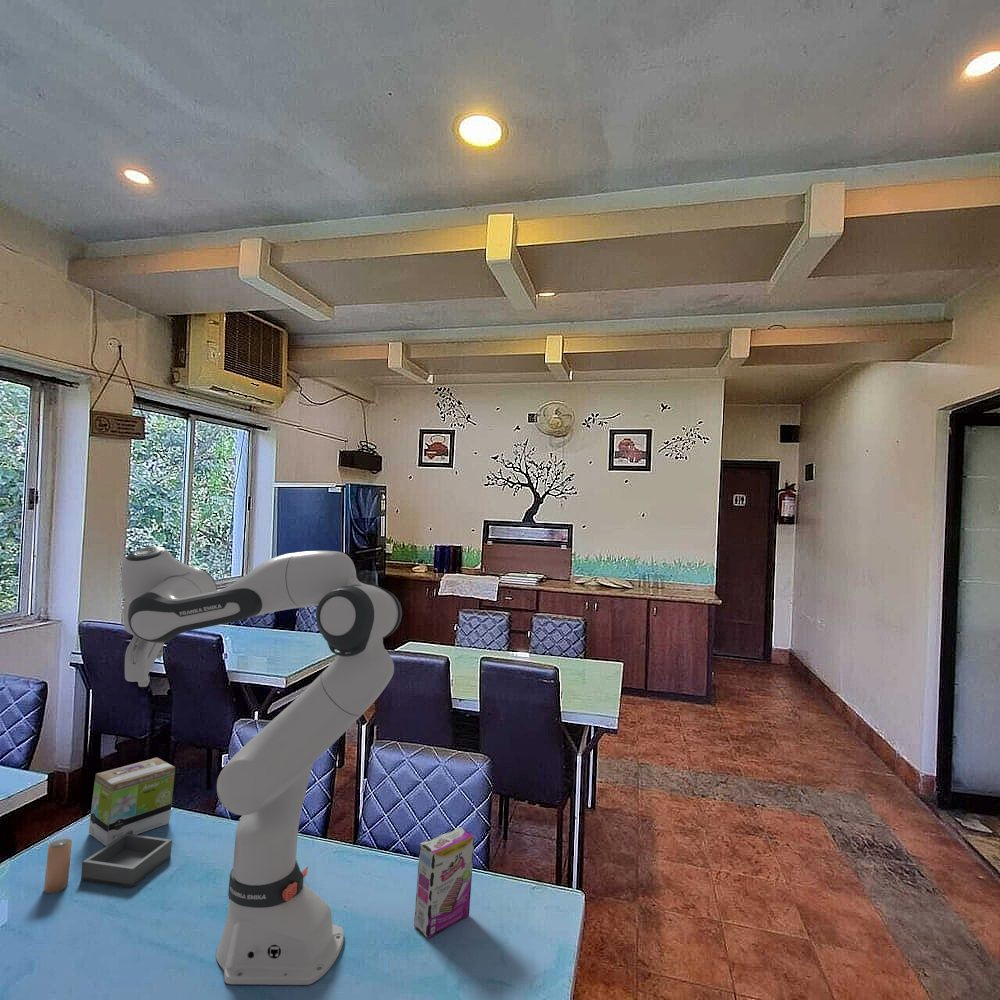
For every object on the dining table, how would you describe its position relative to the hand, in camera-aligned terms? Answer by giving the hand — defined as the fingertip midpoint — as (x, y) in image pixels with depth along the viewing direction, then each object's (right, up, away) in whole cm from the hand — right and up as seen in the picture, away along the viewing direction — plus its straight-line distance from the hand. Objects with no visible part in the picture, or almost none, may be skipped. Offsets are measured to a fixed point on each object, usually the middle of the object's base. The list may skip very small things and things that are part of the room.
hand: (151, 670), depth 127 cm
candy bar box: (+66, -48, -10) cm, 82 cm away
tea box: (-16, -46, +18) cm, 52 cm away
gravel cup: (-16, -44, -6) cm, 47 cm away
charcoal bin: (-6, -45, +1) cm, 45 cm away
